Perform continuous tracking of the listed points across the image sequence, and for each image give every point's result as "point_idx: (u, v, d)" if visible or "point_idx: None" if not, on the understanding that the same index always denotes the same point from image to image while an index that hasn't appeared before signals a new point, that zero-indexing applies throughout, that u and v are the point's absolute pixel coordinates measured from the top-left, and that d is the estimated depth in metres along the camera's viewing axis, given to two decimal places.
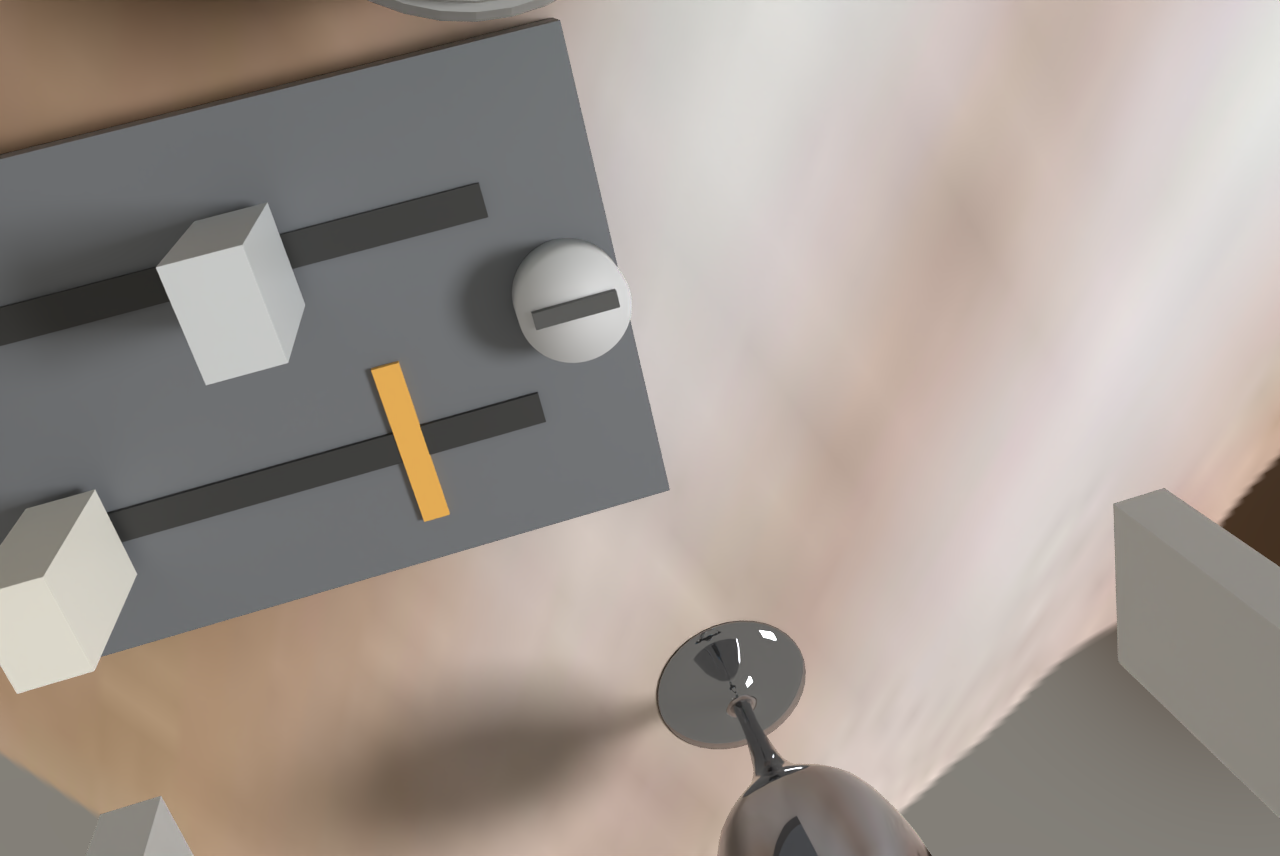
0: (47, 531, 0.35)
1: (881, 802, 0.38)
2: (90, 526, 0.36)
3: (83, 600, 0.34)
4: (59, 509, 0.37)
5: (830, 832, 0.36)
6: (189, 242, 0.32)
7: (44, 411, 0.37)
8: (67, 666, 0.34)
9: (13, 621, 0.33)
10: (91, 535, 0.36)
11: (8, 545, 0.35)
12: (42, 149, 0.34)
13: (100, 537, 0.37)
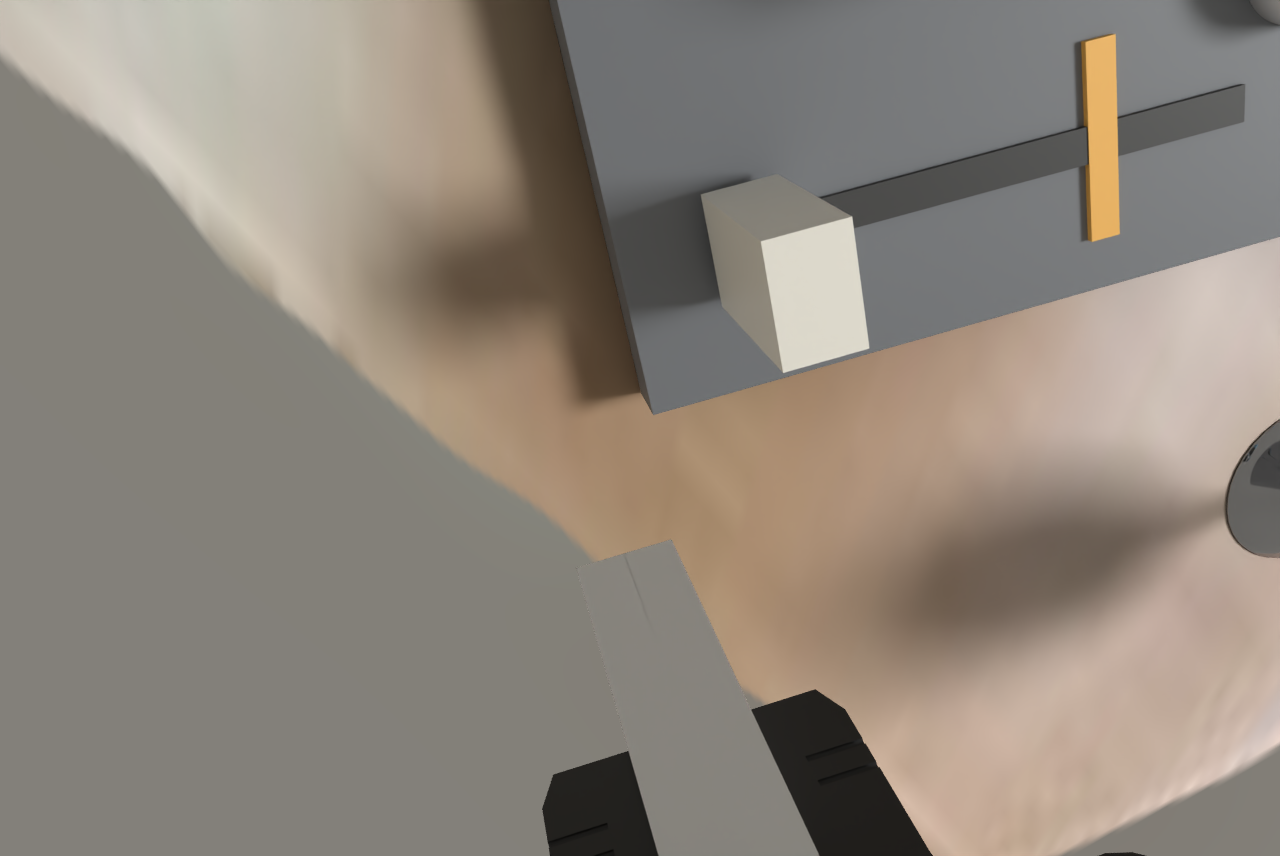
0: (776, 198, 0.30)
1: None
2: None
3: None
4: (755, 188, 0.31)
5: None
6: None
7: (734, 74, 0.31)
8: (844, 340, 0.28)
9: (806, 275, 0.27)
10: None
11: (738, 211, 0.29)
12: None
13: None
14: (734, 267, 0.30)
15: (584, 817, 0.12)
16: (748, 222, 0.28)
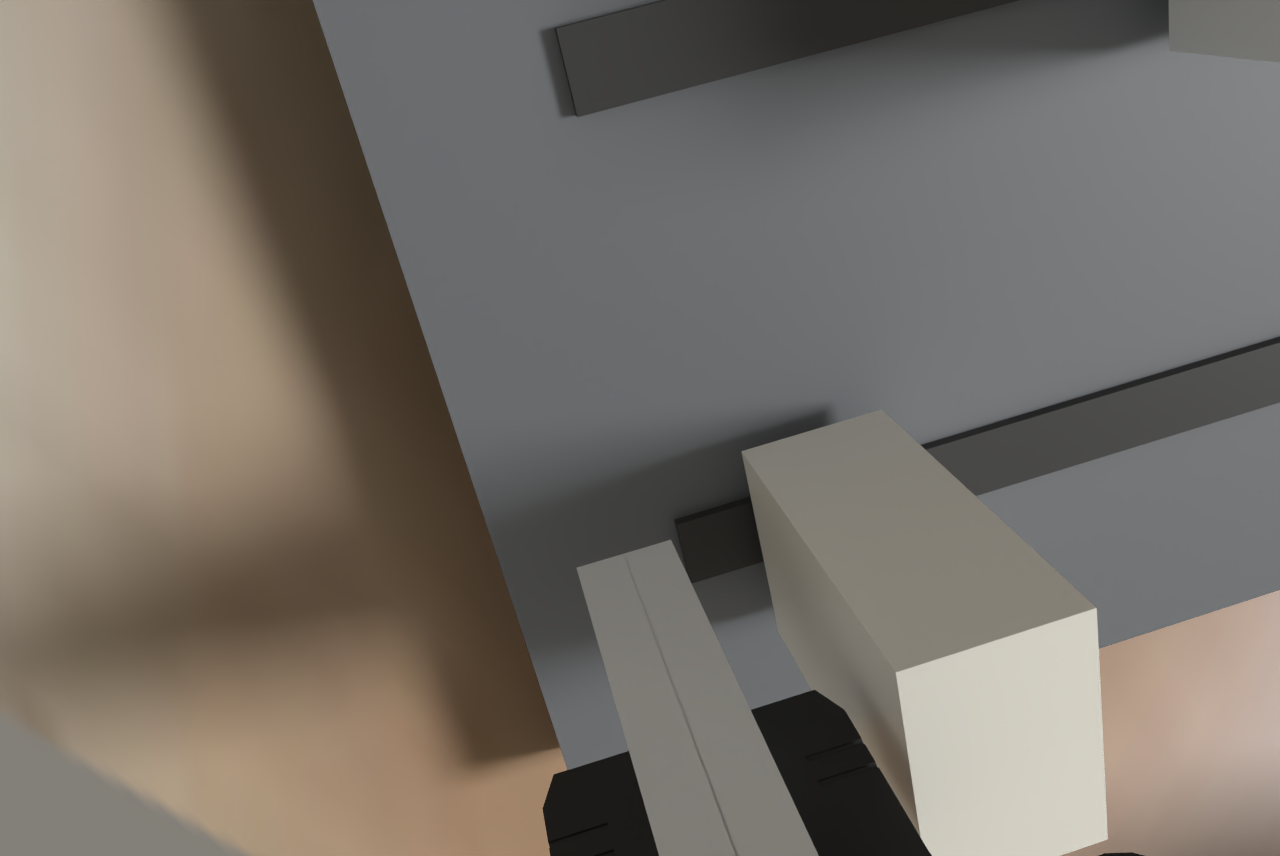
0: (896, 495, 0.15)
1: None
2: None
3: None
4: (846, 450, 0.16)
5: None
6: None
7: (715, 258, 0.16)
8: (1058, 831, 0.13)
9: (988, 726, 0.12)
10: None
11: (823, 528, 0.15)
12: None
13: None
14: (812, 621, 0.15)
15: (584, 817, 0.12)
16: (851, 577, 0.14)
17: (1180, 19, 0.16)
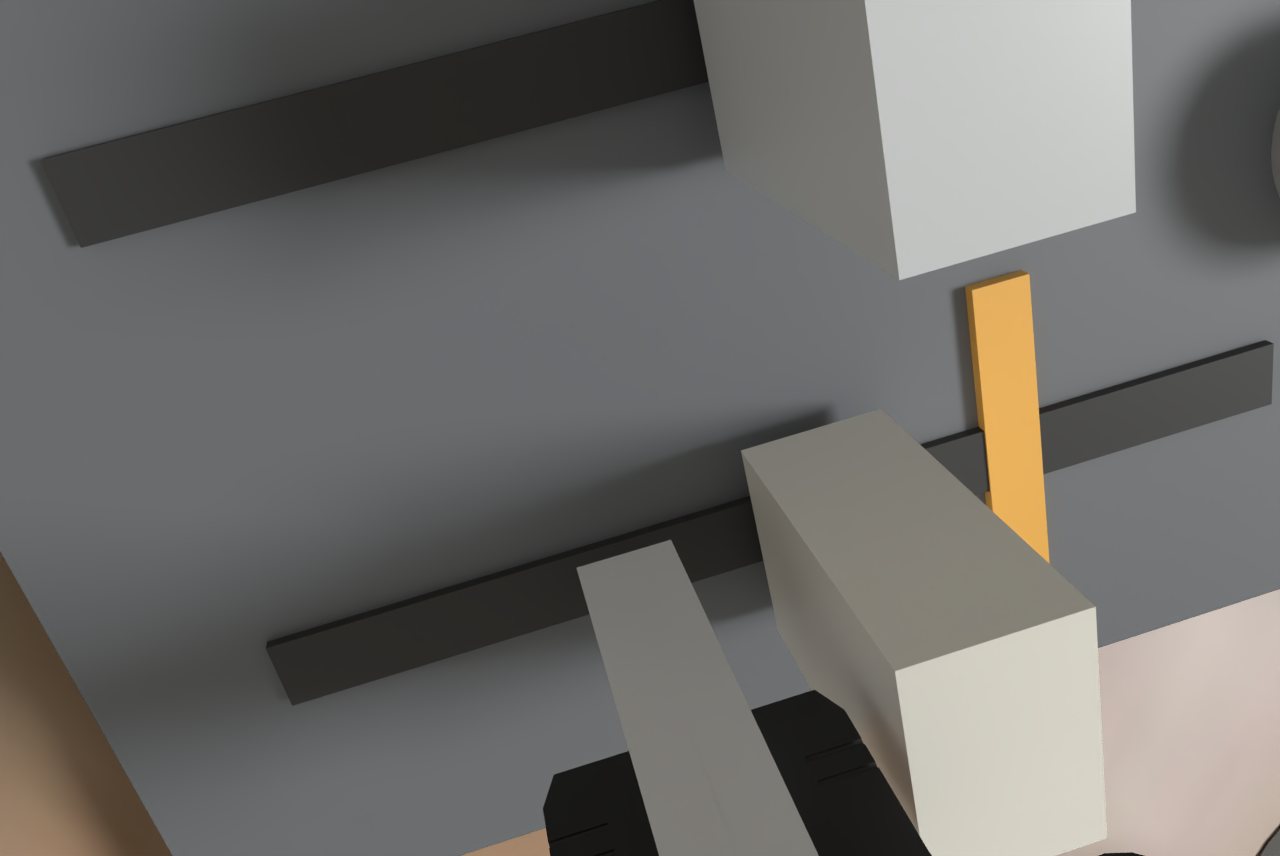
0: (896, 494, 0.15)
1: None
2: None
3: None
4: (846, 449, 0.16)
5: None
6: None
7: (268, 383, 0.16)
8: (1057, 829, 0.13)
9: (988, 725, 0.12)
10: None
11: (823, 527, 0.15)
12: None
13: None
14: (812, 620, 0.15)
15: (584, 817, 0.12)
16: (851, 576, 0.14)
17: (724, 141, 0.15)
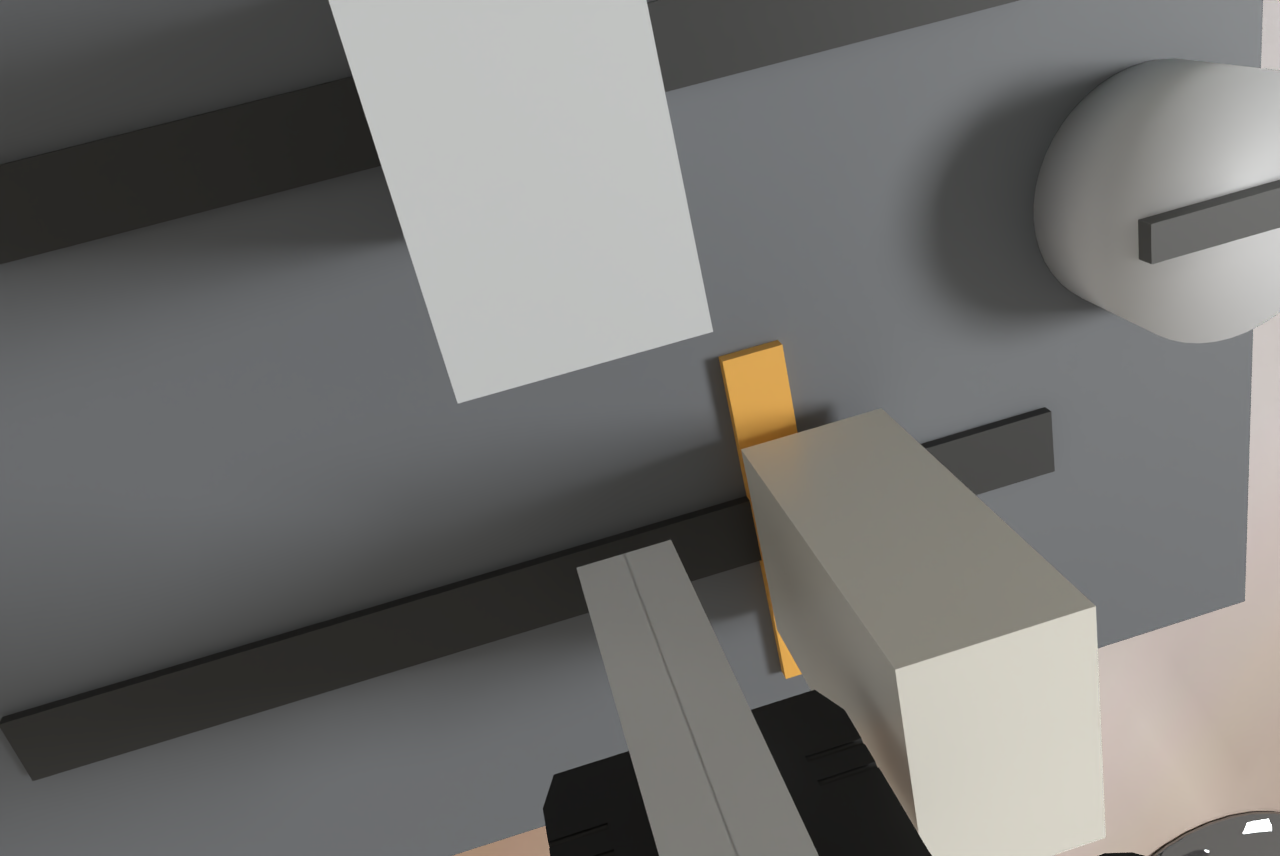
0: (896, 494, 0.15)
1: None
2: None
3: None
4: (846, 448, 0.16)
5: None
6: None
7: None
8: (1056, 829, 0.13)
9: (987, 723, 0.12)
10: None
11: (823, 526, 0.15)
12: None
13: None
14: (812, 619, 0.15)
15: (585, 817, 0.12)
16: (851, 575, 0.14)
17: None
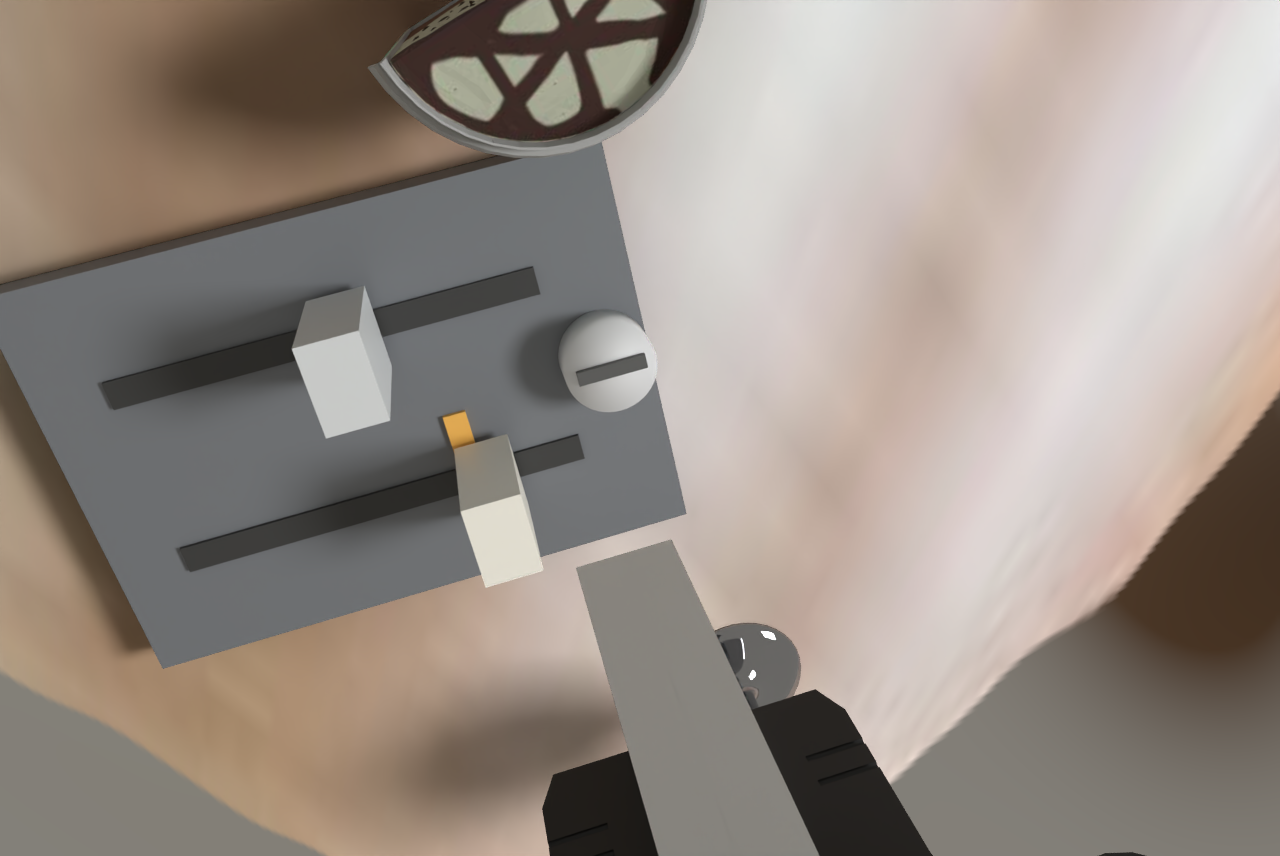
0: (491, 464, 0.45)
1: None
2: (514, 461, 0.46)
3: (528, 516, 0.44)
4: (487, 448, 0.46)
5: None
6: (310, 324, 0.40)
7: (178, 453, 0.45)
8: (525, 566, 0.43)
9: (493, 529, 0.42)
10: (516, 468, 0.46)
11: (464, 474, 0.44)
12: (187, 245, 0.42)
13: (517, 471, 0.46)
14: None
15: (584, 817, 0.12)
16: (463, 488, 0.43)
17: None
